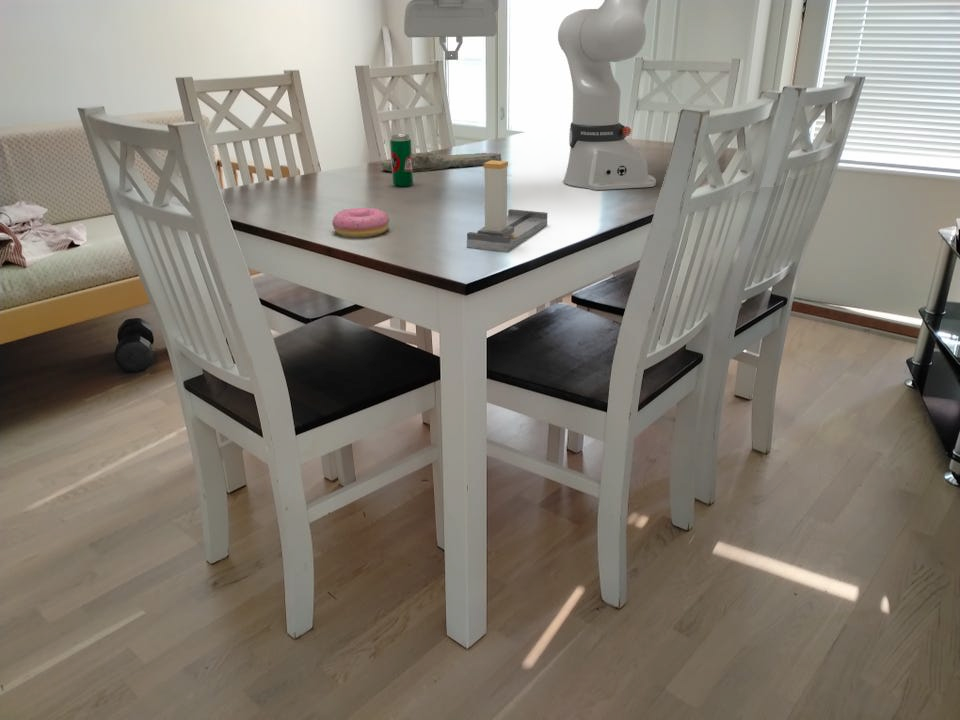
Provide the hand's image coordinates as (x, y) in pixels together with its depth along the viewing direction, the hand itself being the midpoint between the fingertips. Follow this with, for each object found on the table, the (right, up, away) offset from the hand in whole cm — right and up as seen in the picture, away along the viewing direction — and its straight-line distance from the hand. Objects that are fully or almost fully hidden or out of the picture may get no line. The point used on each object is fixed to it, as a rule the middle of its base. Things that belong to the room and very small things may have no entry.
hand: (451, 59), depth 162 cm
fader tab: (+9, -44, -29) cm, 53 cm away
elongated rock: (-4, -13, +42) cm, 44 cm away
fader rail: (+12, -43, -23) cm, 50 cm away
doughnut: (-17, -42, -19) cm, 49 cm away
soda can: (-13, -23, +20) cm, 33 cm away
